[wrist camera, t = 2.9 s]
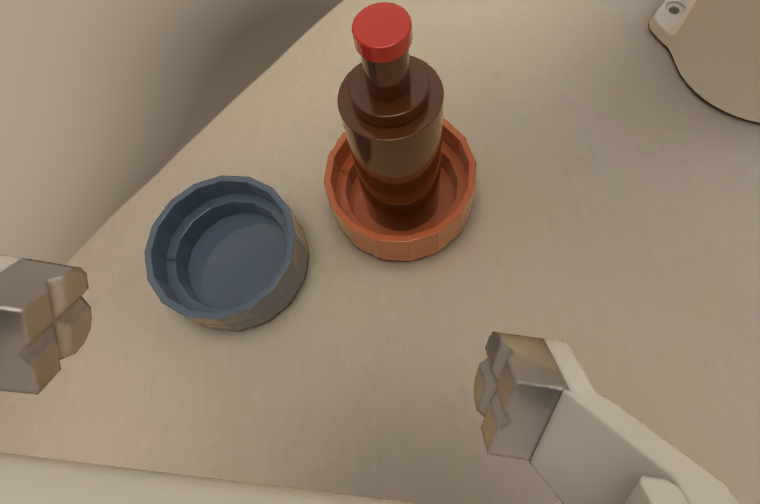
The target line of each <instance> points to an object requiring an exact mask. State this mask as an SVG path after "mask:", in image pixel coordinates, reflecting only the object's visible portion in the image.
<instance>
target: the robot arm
mask: <svg viewBox="0 0 760 504" xmlns="http://www.w3.org/2000/svg"><path fill="white" fill-rule="evenodd" d="M649 27H650V30H651V31H652V32H653V34H654V35H655V36H656V37H657V38H658V39H659V40H660V41H661V42H662V43H663V44H664V45H666V46H667V47H668V49H669V50H670V52H671V54H672V56H673V59H674V61H675V64H676V66H677V68H678V70H679V72H680V74H681V76H682V77H683V78H684V80H685V81H686V82H687V84H688V85H689V86H690V87H691V88H692V89H693V90H694V91H695V92H696V93H697V94H698V95H699V96H701V97H702V98H703V99H704V100H706V101H707V102H709V103H710V104H712V105H713V106H715V107H717V108H719V109H721V110H723V111H725V112H727V113H729V114H731V115H734V116H737V117H739V118H743V119H746V120H750V121H754V122H759V123H760V0H665V1H664V2H663V4H662V5H661V6H660V7H659V9H658V10H657V11H656V12H655V14H654V15H653V17H652V18H651V20H650V22H649ZM88 288H89V287H88V281H87V275H86V272H85V271H83V270H82V269H81V268H79V267H73V266H67V265H61V264H55V263H50V262H44V261H39V260H32V259H25V258H22V257H15V256H8V255H0V391H9V392H18V393H28V394H37V395H38V394H39V393H40V392H41V391H42V390H43V388H44V387H45V386H46V385H47V384H48V383H49V382H50V381H51V380H52V379H53V378H54V376H55V375H56V374H57V373H58V372H59V371H60V370H61V366H60V360H61V359H64V358H66V357H68V356H71V355H73V354H75V353H76V352H77V351H78V350H79V349H80V348H81V346H82V345H83V344H84V342H85V340H86V338H87V336H88V333H89V331H90V328H91V320H92V315H91V307H90V306H89V304H88V303H87V302H86V301H85V300H84V299H83V297H82V295H83V294H84V293H85V292H86V290H87V289H88ZM485 348H486V352H487V355H488V358H487V359H486V360H485V361H483V362H482V363H481V364H479V367H478V370H477V373H476V377H475V384H474V400H475V405H476V409H477V411H478V412H479V413H480V414H481V415H482V416H483V417H484V419H483V422H482V425H481V430H482V434H483V438H484V442H485V446H486V450H487V454H490V455H496V456H502V457H508V458H515V459H521V460H527V461H530V464H531V465H532V467H533V468H534V469H535V470H536V471H537V473H538V474H539V475H540V476H541V477H542V479H543V480H544V481H545V482H546V483H547V485H548V486H549V487H550V488H551V489H552V491H553V492H554V493H555V494H556V496H557V497H558V498H559V499H560V500H561V502H562V503H563V504H740V502H739V501H738V500H737V498H736V497H735V496H734V494H733V493H732V491H731V490H730V489H729V487H728V486H727V485H726V484H724V483H723V482H722V481H720V480H719V479H718V478H716V477H715V476H714V475H712V474H711V473H709V472H708V471H707V470H705V469H704V468H703V467H701V466H700V465H699V464H697V463H696V462H695V461H693V460H692V459H690V458H689V457H688V456H686V455H685V454H684V453H682V452H681V451H680V450H678V449H677V448H675V447H674V446H673V445H671V444H670V443H669V442H667V441H666V440H665V439H663V438H662V437H660V436H659V435H658V434H656V433H655V432H654V431H652V430H651V429H650V428H648V427H647V426H645V425H644V424H643V423H641V422H640V421H639V420H637V419H636V418H635V417H633V416H632V415H630V414H629V413H628V412H626V411H625V410H624V409H622V408H621V407H620V406H618V405H617V404H615V403H614V402H613V401H611V400H610V399H609V398H607V397H606V396H602V395H598V394H597V393H596V391H595V389H594V387H593V386H592V384H591V382H590V380H589V379H588V377H587V375H586V374H585V372H584V370H583V368H582V367H581V365H580V363H579V361H578V360H577V358H576V356H575V354H574V353H573V351H572V349H571V348H570V346H569V344H568V343H566V342H565V341H563V340H556V339H547V338H536V337H529V336H521V335H514V334H506V333H499V332H492V334H491V335H490V337H489V339H488V341H487V344H486V347H485ZM0 504H416V503H408V502H400V501H392V500H384V499H376V498H368V497H360V496H352V495H344V494H336V493H328V492H320V491H312V490H304V489H296V488H288V487H280V486H271V485H263V484H255V483H247V482H238V481H230V480H222V479H214V478H205V477H197V476H189V475H181V474H173V473H164V472H156V471H148V470H140V469H131V468H123V467H115V466H107V465H98V464H90V463H82V462H74V461H66V460H58V459H49V458H41V457H33V456H25V455H17V454H9V453H0Z"/></svg>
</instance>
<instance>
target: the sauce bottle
mask: <svg viewBox="0 0 760 504" xmlns="http://www.w3.org/2000/svg"><path fill="white" fill-rule="evenodd" d="M352 33H353V39H354V44H355V48H356V50H357V52H358V53H359V54H360V55H361V59H362V62H361V63H360V64H359V65H357V66H356V67H355V68H353V69H352V70H351V71H350V72H349V73H348V75H347V76H346V77H345V79H344V80H343V82H342V84H341V87H340V89H339V93H338V108H339V112H340V116H341V119H342V123H343V126H344V130H345V133H346V137H347V140H348V144H349V147H350V151H351V154H352V158H353V161H354V165H355V168H356V172H357V175H358V179H359V182H360V186H361V189H362V193H363V196H364V200H365V203H366V207H367V209H368V212H369V213H370V215H371V216H372V218H373V219H374V220H375V221H376V222H377V223H379V224H380V225H382V226H384V227H386V228H388V229H392V230H399V231H404V230H410V229H414V228H417V227H419V226H421V225H423V224H424V223H426V222H427V221H428V220H429V219H430V218H431V217H432V216H433V214H434V213H435V211H436V209H437V207H438V204H439V197H440V173H441V149H442V124H443V100H444V91H443V86H442V83H441V80H440V78H439V76H438V75H437V73H436V72H435V70H434V69H433V68H432V67H431V66H429V65H428V64H427V63H426V62H424V61H422V60H420V59H418V58H416V57H413V56H410V55H409V47H410V46H411V43H412V22H411V18H410V16H409V14H408V12H407V11H406V10H405V9H404V8H402V7H401V6H399V5H396V4H393V3H386V2H383V3H376V4H372V5H370V6H368V7H366V8H364V9H363V10H361V11H360V12H359V13H358V14H357V16H356V17H355V19H354V21H353V24H352Z"/></svg>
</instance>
